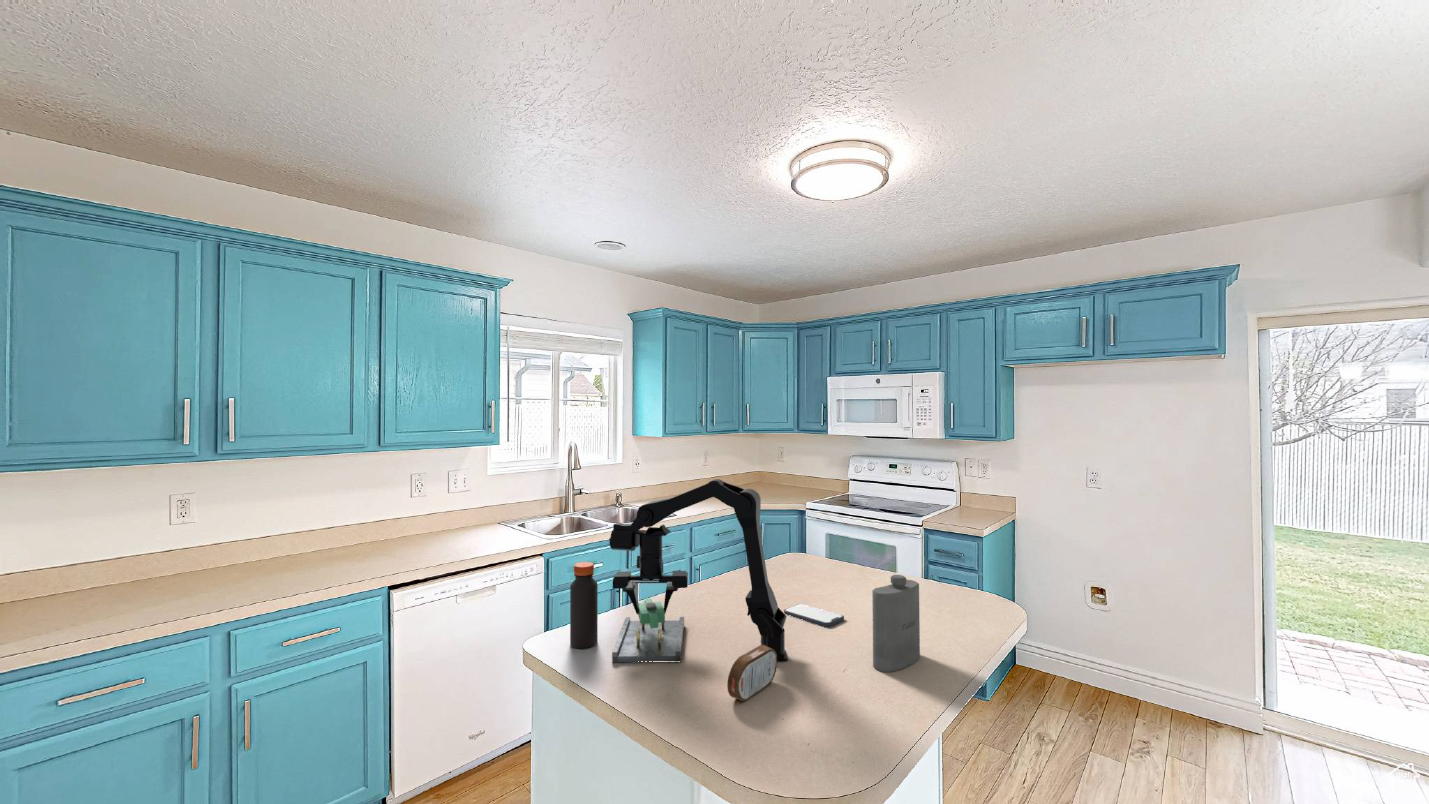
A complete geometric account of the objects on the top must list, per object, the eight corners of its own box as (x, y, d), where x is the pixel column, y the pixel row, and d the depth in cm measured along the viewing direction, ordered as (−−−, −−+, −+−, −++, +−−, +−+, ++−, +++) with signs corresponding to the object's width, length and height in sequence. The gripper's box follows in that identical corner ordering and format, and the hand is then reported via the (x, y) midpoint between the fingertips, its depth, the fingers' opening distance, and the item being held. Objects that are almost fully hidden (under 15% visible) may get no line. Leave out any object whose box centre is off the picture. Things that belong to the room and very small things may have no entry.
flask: (890, 676, 122) (889, 585, 123) (868, 666, 127) (867, 579, 127) (927, 657, 132) (926, 573, 132) (905, 649, 136) (904, 567, 136)
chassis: (680, 662, 129) (680, 639, 129) (612, 663, 129) (612, 639, 129) (684, 625, 151) (684, 606, 151) (625, 626, 151) (625, 606, 151)
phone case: (781, 615, 161) (828, 629, 149) (781, 610, 161) (827, 623, 149) (800, 608, 167) (846, 621, 155) (800, 602, 167) (846, 615, 155)
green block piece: (666, 626, 134) (666, 613, 134) (642, 629, 133) (642, 616, 133) (659, 607, 148) (659, 595, 148) (636, 609, 146) (636, 597, 146)
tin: (767, 676, 122) (767, 638, 123) (779, 680, 120) (779, 642, 121) (725, 704, 111) (725, 662, 111) (738, 709, 109) (738, 666, 109)
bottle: (590, 650, 136) (590, 568, 136) (565, 648, 137) (565, 567, 138) (601, 639, 142) (601, 561, 143) (577, 637, 144) (577, 560, 144)
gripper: (688, 544, 149) (688, 602, 148) (619, 544, 148) (619, 603, 148) (687, 554, 138) (687, 617, 137) (612, 555, 137) (612, 618, 137)
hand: (651, 613), depth 140 cm, fingers closed on green block piece, 6 cm apart
